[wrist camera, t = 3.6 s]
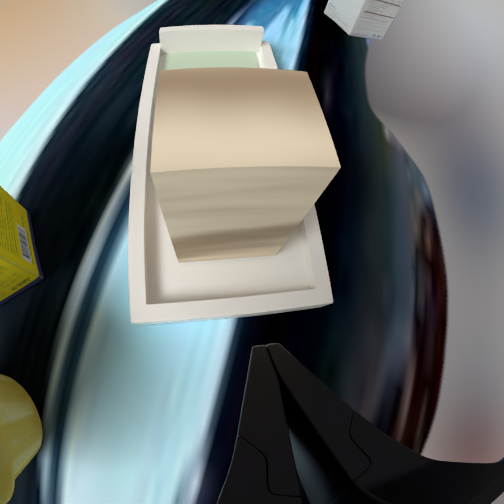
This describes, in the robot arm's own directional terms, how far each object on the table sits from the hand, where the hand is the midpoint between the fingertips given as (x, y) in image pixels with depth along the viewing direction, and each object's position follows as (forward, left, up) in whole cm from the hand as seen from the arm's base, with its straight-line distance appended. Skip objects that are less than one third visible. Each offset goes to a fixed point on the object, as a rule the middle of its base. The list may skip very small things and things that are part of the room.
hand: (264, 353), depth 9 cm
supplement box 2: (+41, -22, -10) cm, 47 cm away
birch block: (+8, 0, -8) cm, 11 cm away
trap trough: (+15, 0, -9) cm, 18 cm away
